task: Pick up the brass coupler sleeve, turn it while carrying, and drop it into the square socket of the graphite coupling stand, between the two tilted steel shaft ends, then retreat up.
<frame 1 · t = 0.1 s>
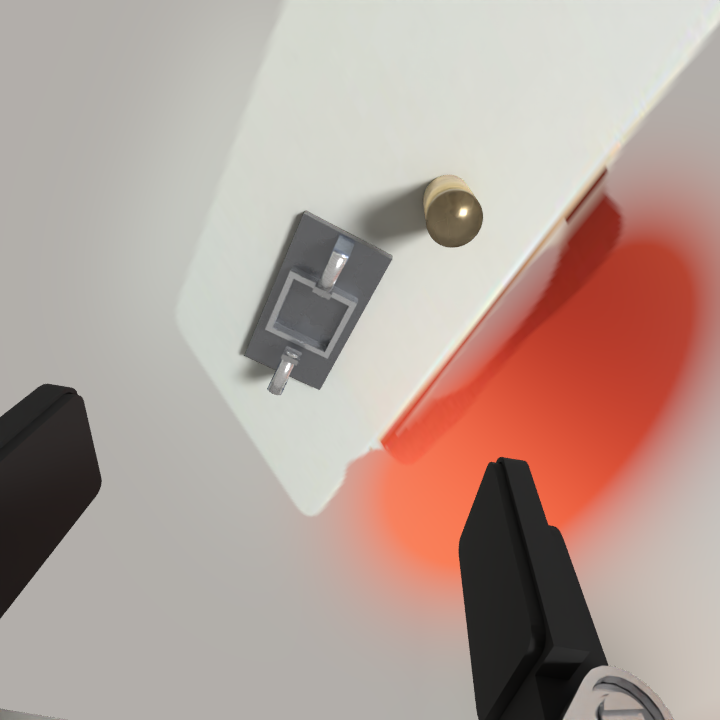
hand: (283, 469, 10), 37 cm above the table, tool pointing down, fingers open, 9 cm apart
coupling stand: (314, 306, 49), on the table
brass coupler: (446, 199, 42), on the table
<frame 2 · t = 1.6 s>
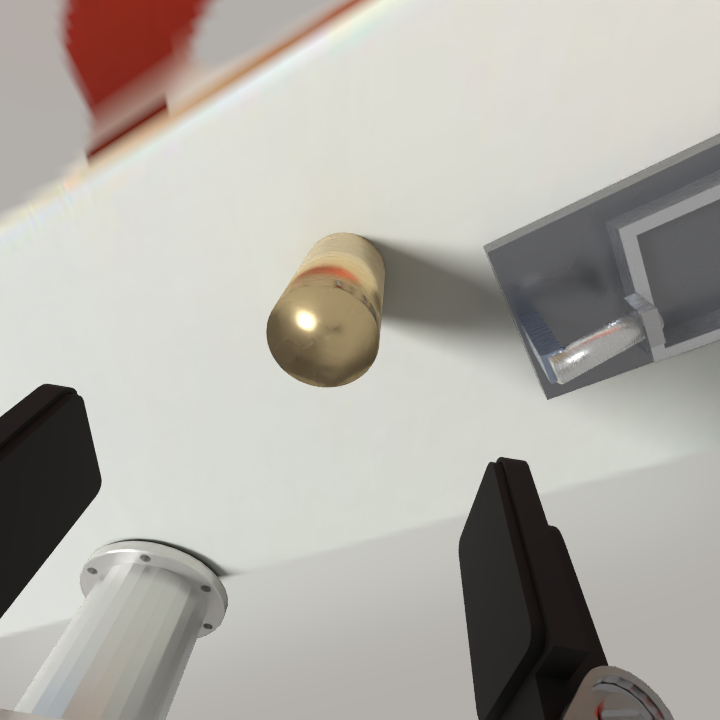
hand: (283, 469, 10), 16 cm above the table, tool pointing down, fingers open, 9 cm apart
coupling stand: (691, 249, 22), on the table
brass coupler: (344, 273, 24), on the table
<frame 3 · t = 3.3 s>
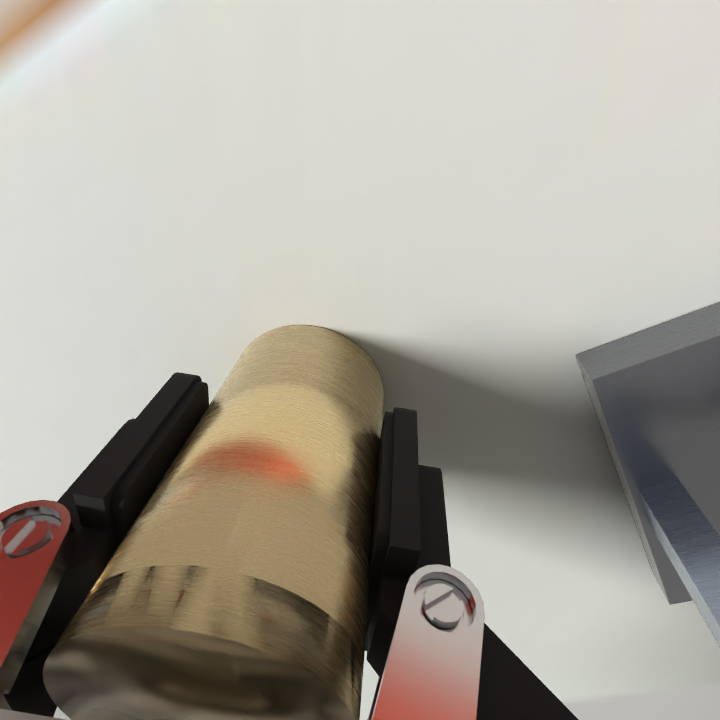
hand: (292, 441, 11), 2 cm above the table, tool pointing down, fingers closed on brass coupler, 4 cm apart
brass coupler: (308, 392, 13), on the table, touching gripper
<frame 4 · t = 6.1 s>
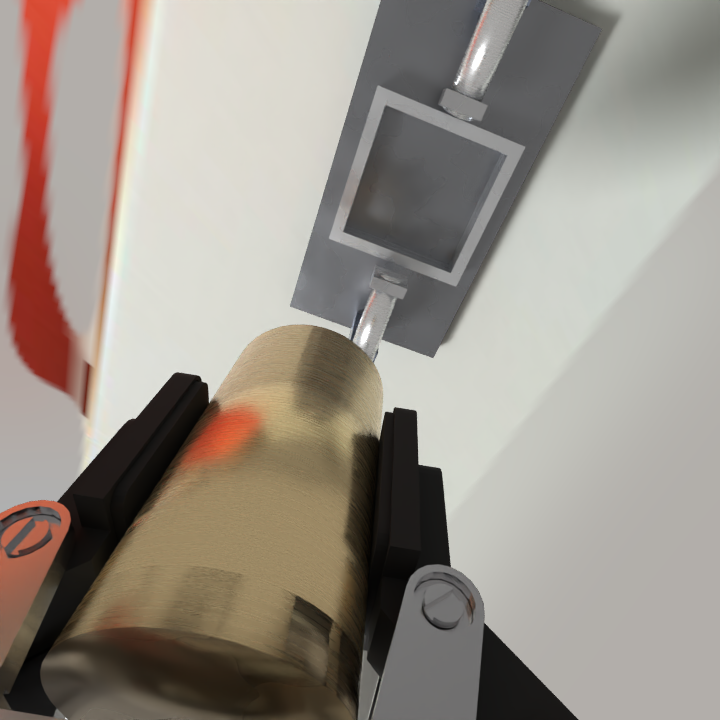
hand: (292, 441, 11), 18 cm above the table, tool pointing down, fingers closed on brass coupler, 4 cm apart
coupling stand: (419, 187, 25), on the table
brass coupler: (307, 392, 13), point 16 cm above the table, touching gripper
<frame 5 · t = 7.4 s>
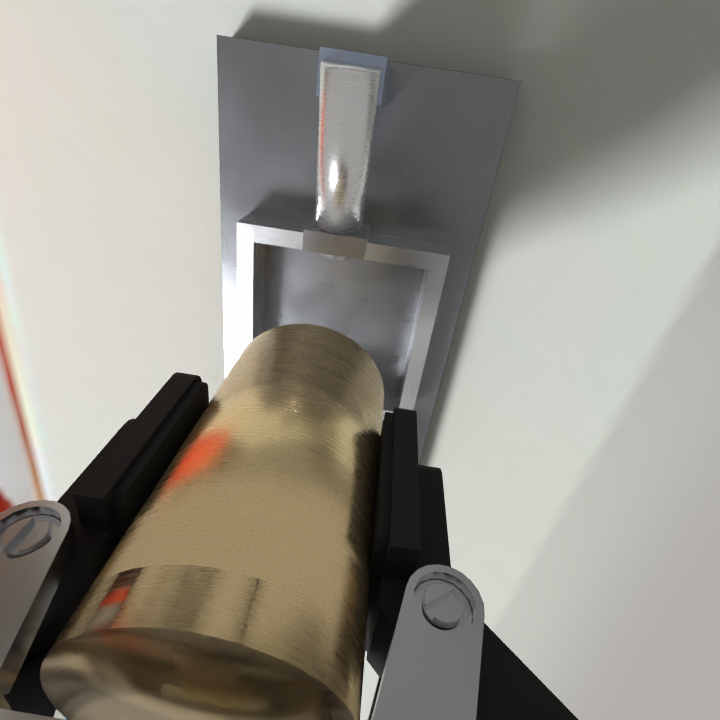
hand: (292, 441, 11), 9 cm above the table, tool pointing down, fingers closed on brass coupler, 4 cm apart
coupling stand: (341, 307, 20), on the table
brass coupler: (308, 391, 13), point 7 cm above the table, touching gripper
when the fingers open (4 cm above the table, at t = 8.7 s): brass coupler stays where it is, resting on coupling stand.
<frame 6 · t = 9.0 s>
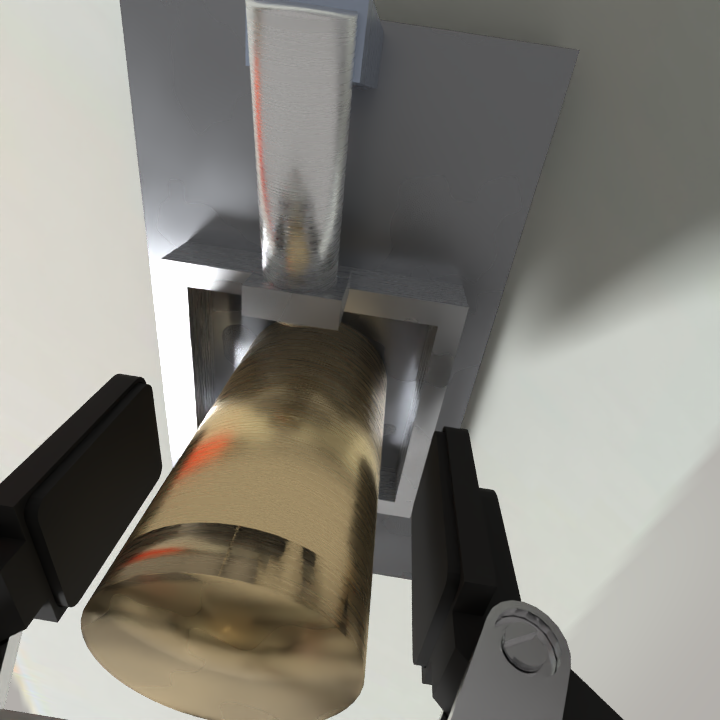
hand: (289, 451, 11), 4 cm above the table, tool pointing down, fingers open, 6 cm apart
coupling stand: (319, 359, 15), on the table
brass coupler: (315, 380, 14), point 1 cm above the table, touching coupling stand
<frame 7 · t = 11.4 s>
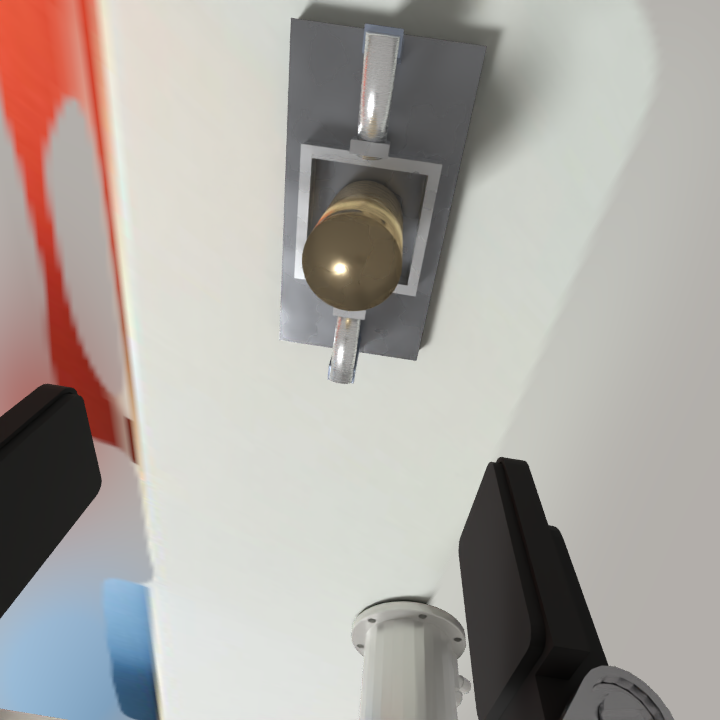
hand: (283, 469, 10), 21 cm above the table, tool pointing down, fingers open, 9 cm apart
coupling stand: (366, 214, 27), on the table
brass coupler: (365, 220, 26), point 1 cm above the table, touching coupling stand
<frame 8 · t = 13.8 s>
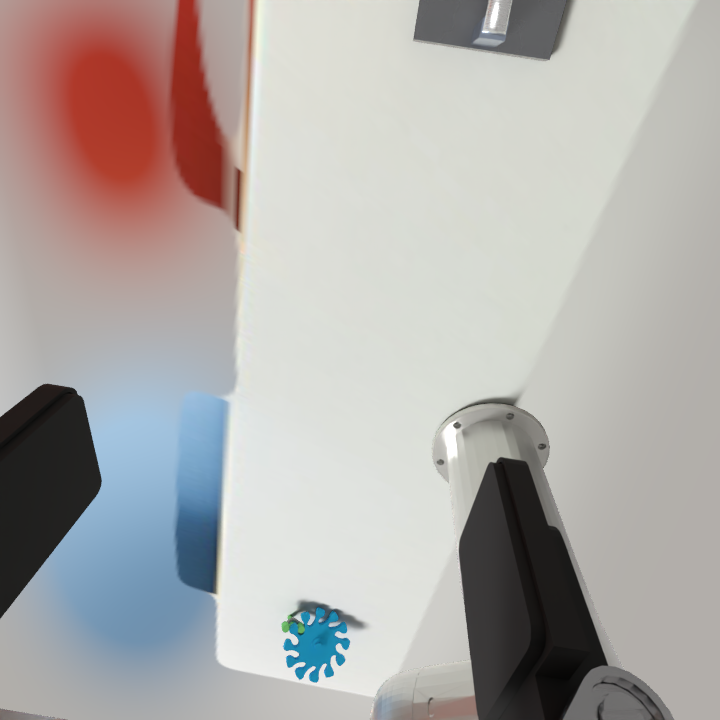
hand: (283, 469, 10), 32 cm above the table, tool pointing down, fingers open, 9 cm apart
gear: (318, 616, 71), on the table
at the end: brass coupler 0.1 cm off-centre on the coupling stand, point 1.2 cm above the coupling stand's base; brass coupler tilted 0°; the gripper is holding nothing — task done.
